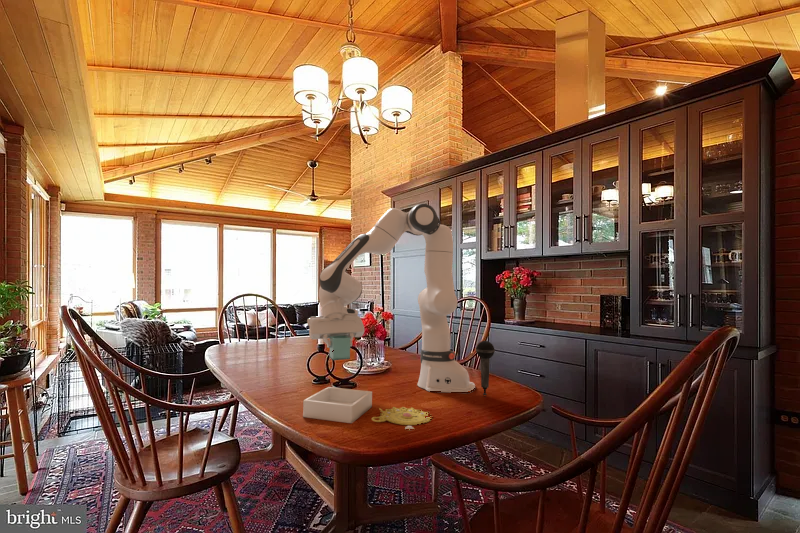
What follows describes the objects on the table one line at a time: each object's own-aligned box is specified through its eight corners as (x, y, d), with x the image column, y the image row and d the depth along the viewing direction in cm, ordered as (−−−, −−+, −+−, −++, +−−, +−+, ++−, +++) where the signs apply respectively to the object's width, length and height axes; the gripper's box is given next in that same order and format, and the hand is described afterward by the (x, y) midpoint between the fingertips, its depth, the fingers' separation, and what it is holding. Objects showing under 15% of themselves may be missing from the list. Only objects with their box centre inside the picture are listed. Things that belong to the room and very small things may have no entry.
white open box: (371, 406, 132) (372, 391, 133) (351, 423, 117) (352, 406, 117) (327, 401, 137) (328, 386, 137) (303, 416, 122) (303, 400, 122)
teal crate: (345, 355, 149) (345, 335, 149) (349, 359, 144) (350, 337, 144) (329, 357, 147) (329, 336, 147) (333, 360, 141) (333, 338, 142)
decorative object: (447, 418, 119) (387, 426, 109) (447, 427, 119) (387, 435, 109) (411, 399, 137) (357, 404, 127) (411, 406, 137) (357, 412, 127)
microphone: (494, 400, 142) (495, 342, 143) (475, 398, 143) (475, 341, 144) (494, 394, 149) (494, 339, 149) (475, 393, 150) (475, 339, 151)
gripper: (307, 311, 148) (312, 342, 139) (361, 310, 156) (368, 339, 147) (305, 322, 152) (309, 353, 143) (357, 320, 160) (365, 349, 151)
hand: (340, 346), depth 145 cm, fingers closed on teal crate, 6 cm apart
